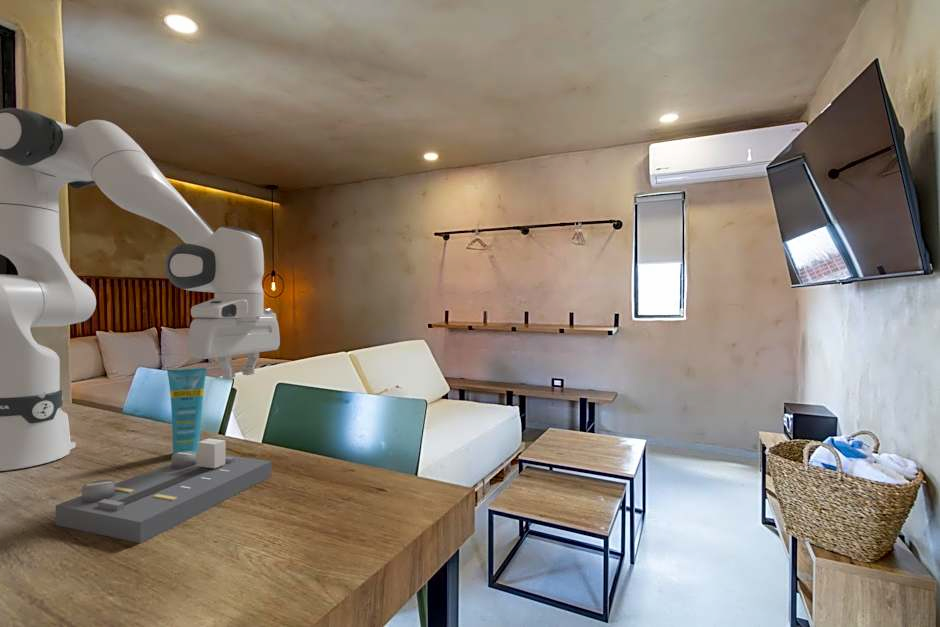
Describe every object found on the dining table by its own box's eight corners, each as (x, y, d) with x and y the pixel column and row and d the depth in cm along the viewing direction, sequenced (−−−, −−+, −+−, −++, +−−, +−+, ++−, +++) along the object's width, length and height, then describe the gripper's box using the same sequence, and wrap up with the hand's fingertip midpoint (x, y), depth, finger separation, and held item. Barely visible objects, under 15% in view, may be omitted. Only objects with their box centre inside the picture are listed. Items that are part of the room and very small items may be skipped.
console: (55, 524, 67) (55, 490, 67) (202, 466, 92) (203, 441, 92) (140, 543, 62) (140, 506, 62) (271, 476, 87) (271, 450, 87)
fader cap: (197, 466, 83) (197, 441, 83) (208, 461, 85) (208, 437, 85) (214, 468, 82) (214, 443, 82) (225, 463, 84) (225, 439, 84)
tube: (166, 459, 96) (167, 370, 95) (166, 453, 100) (167, 367, 99) (206, 453, 100) (207, 368, 99) (205, 447, 104) (206, 366, 103)
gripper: (263, 308, 100) (263, 368, 101) (182, 307, 81) (182, 383, 81) (287, 308, 99) (286, 370, 99) (210, 308, 79) (209, 385, 79)
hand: (238, 376), depth 90 cm, fingers open, 4 cm apart
